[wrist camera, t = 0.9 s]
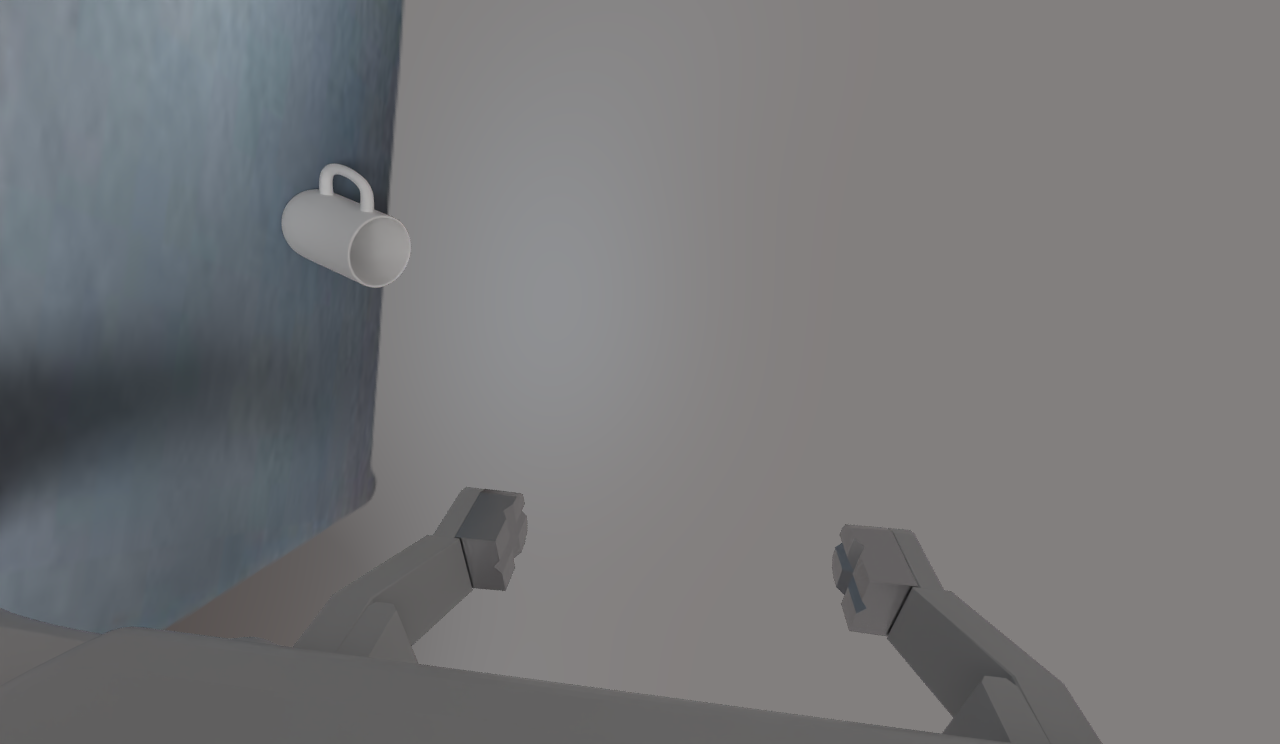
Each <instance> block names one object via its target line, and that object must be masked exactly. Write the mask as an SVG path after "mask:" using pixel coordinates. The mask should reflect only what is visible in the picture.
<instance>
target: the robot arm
mask: <svg viewBox="0 0 1280 744" xmlns="http://www.w3.org/2000/svg"><path fill="white" fill-rule="evenodd" d="M524 504H525V502H524V497H523V494H521V493H514V492H506V491H497V490H490V489H479V488H471V487H466V488H464V489H463V490H462V491H461V492H460V493H459V495H458V497H457V498H456V500H455V501H454V503H453V504H452V506H451V507H450V509H449V511H448V512H447V514H446V516H445V517H444V519H443V520H442V522H441V523H440V525H439V527H438V528H437V530H436V531H435V533H434V534H433V536H432V535H427V536H425V537H423V538H422V539H420V540H419V541H417V542H415V543H414V544H412V545H411V546H409V547H408V548H406V549H404V550H403V551H401V552H400V553H398V554H396V555H395V556H393V557H392V558H390V559H388V560H387V561H385V562H384V563H382V564H381V565H379V566H377V567H376V568H374V569H373V570H371V571H369V572H368V573H367V574H365V575H363V576H361V577H360V578H358V579H357V580H355V581H353V582H352V583H350V584H349V585H347V586H345V587H344V588H343V589H341V590H339V591H338V592H336V593H334V594H333V595H332V596H331V598H330V599H329V600H328V602H327V603H326V604H325V606H324V607H323V608H322V609H321V611H320V612H319V613H318V615H317V616H316V617H315V619H314V620H313V621H312V623H311V624H310V625H309V627H308V628H307V629H306V630H305V632H304V633H303V634H302V636H301V637H300V638H299V640H298V641H297V642H296V643H295V645H294V646H293V647H287V646H280V645H277V644H275V643H273V642H271V641H269V640H266V639H262V638H255V637H243V638H234V639H227V638H220V637H212V636H205V635H197V634H189V633H182V632H175V631H167V630H160V629H152V628H145V627H124V628H118V629H115V630H111V631H109V632H107V633H105V634H99V633H94V632H88V631H83V630H77V629H72V628H68V627H63V626H58V625H54V624H50V623H46V622H42V621H38V620H34V619H30V618H27V617H23V616H20V615H17V614H14V613H11V612H9V611H7V610H4V609H2V608H0V744H1102V742H1101V741H1100V739H1099V738H1098V736H1097V735H1096V733H1095V732H1094V730H1093V729H1092V727H1091V725H1090V724H1089V722H1088V721H1087V719H1086V718H1085V716H1084V714H1083V713H1082V711H1081V710H1080V708H1079V707H1078V705H1077V704H1076V702H1075V701H1074V699H1073V697H1072V696H1071V694H1070V693H1069V691H1068V690H1067V688H1066V686H1065V685H1064V684H1063V683H1062V682H1061V681H1060V680H1059V679H1057V678H1056V677H1055V676H1054V675H1052V674H1051V673H1050V672H1049V671H1048V670H1046V669H1045V668H1044V667H1043V666H1041V665H1040V664H1039V663H1038V662H1037V661H1035V660H1034V659H1033V658H1032V657H1031V656H1029V655H1028V654H1027V653H1026V652H1024V651H1023V650H1022V649H1021V648H1019V647H1018V646H1017V645H1016V644H1015V643H1014V642H1012V641H1011V640H1010V639H1009V638H1007V637H1006V636H1005V635H1004V634H1003V633H1001V632H1000V631H999V630H998V629H996V628H995V627H994V626H993V625H992V624H990V623H989V622H988V621H987V620H985V619H984V618H983V617H982V616H980V615H979V614H978V613H977V612H976V611H975V610H973V609H972V608H971V607H970V606H968V605H967V604H966V603H965V602H964V601H962V600H961V599H960V598H959V597H957V596H956V595H955V594H954V593H953V592H951V591H945V590H944V589H943V587H942V585H941V583H940V581H939V579H938V577H937V576H936V574H935V572H934V570H933V568H932V566H931V564H930V562H929V561H928V559H927V557H926V555H925V553H924V551H923V549H922V547H921V545H920V543H919V541H918V540H917V538H916V536H915V534H914V533H913V532H912V531H911V530H904V529H892V528H888V529H887V528H882V527H871V526H858V525H846V524H845V526H844V527H843V528H842V530H841V533H840V537H841V540H842V543H841V544H840V545H838V546H837V547H835V551H834V554H833V559H832V570H833V577H834V581H835V584H836V587H837V588H838V589H839V590H840V591H841V592H842V593H843V594H844V598H843V601H842V603H841V605H842V608H843V612H844V615H845V618H846V621H847V625H848V628H849V631H854V632H861V633H868V634H875V635H882V636H888V637H887V639H888V640H889V641H890V642H891V644H892V645H893V646H894V647H895V648H896V650H897V651H898V652H899V653H900V655H901V656H902V657H903V658H904V659H905V660H906V662H907V663H908V664H909V665H910V666H911V667H912V669H913V670H914V671H915V672H916V674H917V675H918V676H919V677H920V678H921V680H922V681H923V682H924V683H925V684H926V686H927V687H928V688H929V689H930V690H931V692H933V694H934V695H935V696H936V697H937V699H938V700H939V701H940V702H941V703H942V705H943V706H944V707H945V708H946V709H947V711H948V712H949V713H950V714H951V715H952V717H953V719H952V721H951V722H950V723H949V725H948V726H947V727H946V729H945V730H944V732H943V733H942V734H939V733H932V732H925V731H917V730H909V729H902V728H895V727H887V726H880V725H872V724H865V723H857V722H849V721H842V720H834V719H826V718H819V717H812V716H804V715H797V714H788V713H781V712H773V711H767V710H759V709H751V708H744V707H737V706H729V705H722V704H714V703H707V702H698V701H692V700H684V699H677V698H669V697H662V696H655V695H648V694H640V693H632V692H625V691H617V690H610V689H602V688H594V687H587V686H580V685H572V684H565V683H557V682H549V681H542V680H534V679H527V678H520V677H512V676H505V675H497V674H490V673H482V672H475V671H466V670H459V669H452V668H445V667H437V666H430V665H421V664H418V662H417V659H416V656H415V655H414V652H413V649H412V647H411V646H412V645H413V644H414V643H416V641H418V640H419V639H420V638H421V637H422V636H423V635H424V634H425V633H426V632H428V631H429V630H430V629H431V628H432V627H433V626H434V625H435V624H436V623H437V622H438V621H439V620H440V619H442V618H443V617H444V616H445V615H446V614H447V613H448V612H449V611H450V610H451V609H453V608H454V607H455V606H456V605H457V604H458V603H459V602H460V601H461V600H462V599H463V598H464V597H466V596H467V595H468V594H469V593H470V592H471V591H472V590H473V589H472V588H479V589H490V590H502V591H505V590H506V588H507V586H508V584H509V581H510V579H511V576H512V574H513V571H514V569H515V564H514V558H515V557H516V556H517V555H519V554H520V553H521V552H522V549H523V546H524V544H525V539H526V535H527V516H526V515H525V514H524V513H523V512H522V509H523V507H524Z"/></svg>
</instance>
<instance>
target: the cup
mask: <svg viewBox="0 0 1280 744" xmlns="http://www.w3.org/2000/svg"><path fill="white" fill-rule="evenodd" d="M336 174H339V175H342V176H345V177H347V178H348V179H350V180H351V181H353V182H354V183H355V184H356V185H357V186H358V188H359V190H360V196H361V199H360V203H358V202H355V201H353V200H350V199H348V198H345V197H343V196H341V195H338V194H336V193H334V192H333V177H334V175H336ZM281 225H282V232H283V235H284V237H285V239H286V241H287V243H288V244H289V246H290V247H291V248H292V249H293V250H294V251H295V252H297V253H298V254H300V255H301V256H303V257H305V258H307V259H309V260H311V261H313V262H315V263H317V264H320V265H322V266H324V267H326V268H328V269H330V270H332V271H335V272H337V273H339V274H341V275H343V276H345V277H348V278H350V279H352V280H354V281H356V282H358V283H361V284H363V285H365V286H368V287H373V288H377V287H383V286H386V285H388V284H390V283H392V282H393V281H395V280H396V279H397V278H398V277H399V276H400V275H401V274H402V273H403V271H404V270H405V268H406V266H407V264H408V261H409V259H410V254H411V240H410V236H409V233H408V231H407V229H406V228H405V226H404V225H403V224H402V223H401V222H400V221H399V220H397V219H396V218H394V217H391V216H389V215H387V214H384V213H382V212H379V211H377V210H375V209H374V196H373V192H372V189H371V187H370V185H369V183H368V182H367V181H366V180H365V178H363V177H362V176H361V175H360V174H359V173H357V172H356V171H354V170H353V169H351V168H349V167H347V166H344V165H341V164H329V165H326V166H325V167H324V168H323V169H322V171H321V173H320V178H319V189H311V190H306V191H303V192H301V193H299V194H297V195H296V196H294V197H293V198H292V199H291V200H290V201H289V202H288V204H287V205H286V207H285V209H284V211H283V214H282V220H281Z"/></svg>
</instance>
